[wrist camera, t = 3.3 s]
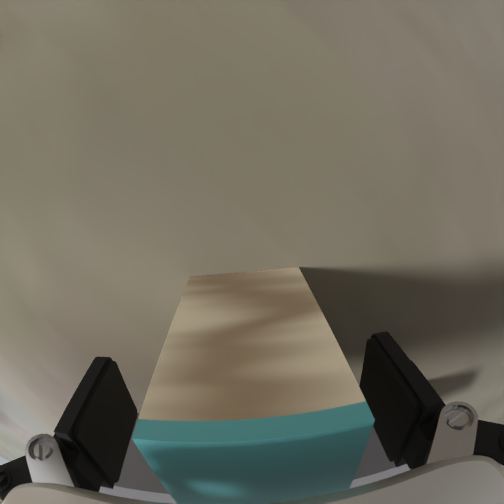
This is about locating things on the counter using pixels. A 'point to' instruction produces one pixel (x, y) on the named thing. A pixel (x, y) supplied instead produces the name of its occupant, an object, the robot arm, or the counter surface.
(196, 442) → the block
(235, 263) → the counter surface
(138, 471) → the board
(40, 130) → the counter surface
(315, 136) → the counter surface
